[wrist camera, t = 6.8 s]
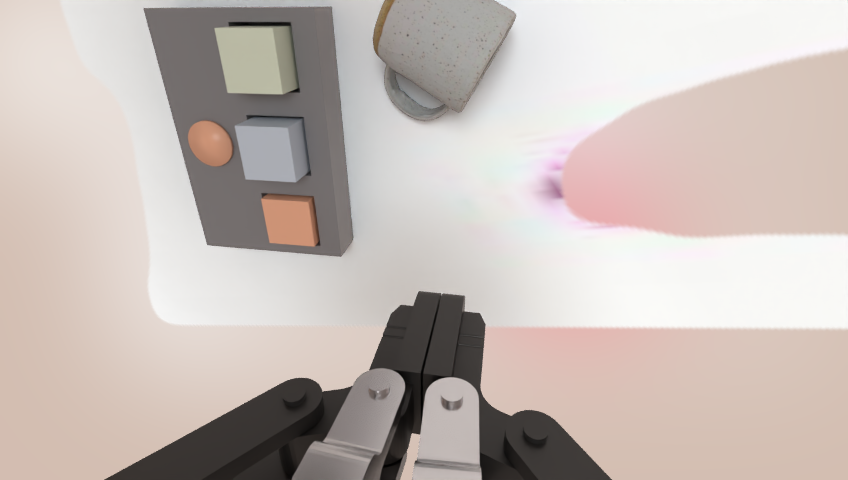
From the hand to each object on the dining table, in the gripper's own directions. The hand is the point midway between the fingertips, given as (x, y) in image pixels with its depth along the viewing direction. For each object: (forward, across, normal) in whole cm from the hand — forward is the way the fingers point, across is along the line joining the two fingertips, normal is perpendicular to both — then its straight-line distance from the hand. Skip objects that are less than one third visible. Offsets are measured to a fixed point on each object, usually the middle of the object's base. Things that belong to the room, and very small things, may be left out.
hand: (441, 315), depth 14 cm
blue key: (+24, +17, +2) cm, 30 cm away
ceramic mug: (+27, +4, -5) cm, 28 cm away
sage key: (+24, +17, -5) cm, 30 cm away
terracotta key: (+26, +17, +9) cm, 32 cm away
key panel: (+27, +20, +2) cm, 33 cm away
